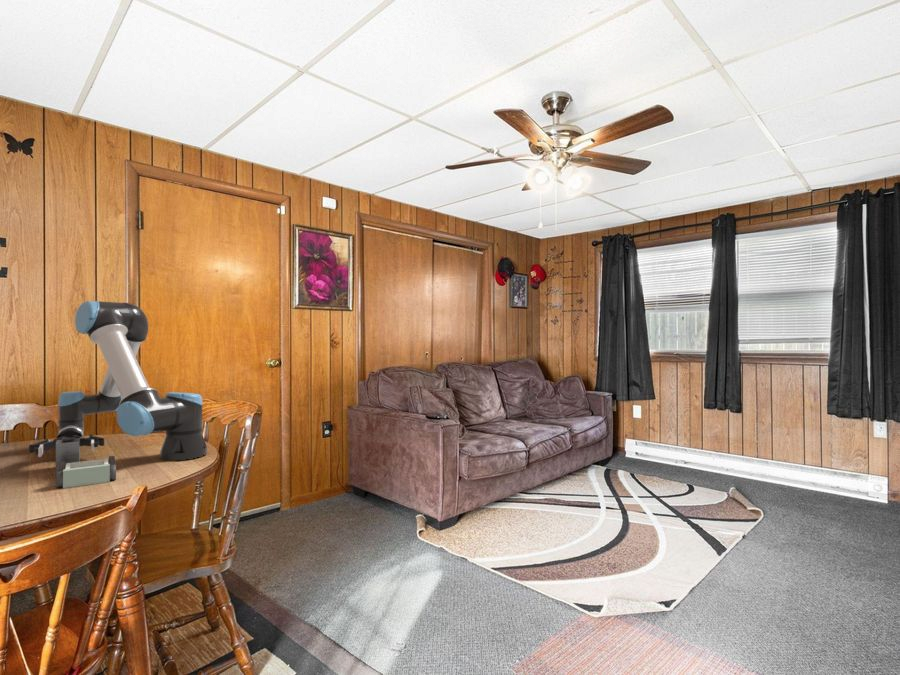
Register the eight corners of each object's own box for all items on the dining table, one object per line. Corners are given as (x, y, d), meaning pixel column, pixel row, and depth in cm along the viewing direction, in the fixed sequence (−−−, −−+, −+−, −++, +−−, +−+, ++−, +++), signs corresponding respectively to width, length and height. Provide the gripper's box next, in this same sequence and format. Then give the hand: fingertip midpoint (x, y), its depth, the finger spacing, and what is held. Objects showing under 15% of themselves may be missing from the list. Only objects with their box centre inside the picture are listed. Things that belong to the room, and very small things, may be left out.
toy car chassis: (59, 474, 152) (59, 458, 152) (114, 467, 161) (114, 452, 161) (55, 489, 139) (55, 471, 138) (116, 481, 147) (116, 464, 147)
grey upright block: (56, 467, 160) (57, 437, 160) (79, 464, 164) (79, 434, 164) (55, 471, 155) (55, 440, 155) (79, 468, 159) (79, 438, 159)
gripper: (111, 443, 184) (112, 456, 167) (24, 452, 170) (16, 467, 152) (111, 424, 184) (113, 434, 167) (24, 431, 169) (16, 443, 152)
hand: (66, 450), depth 160 cm, fingers open, 13 cm apart
